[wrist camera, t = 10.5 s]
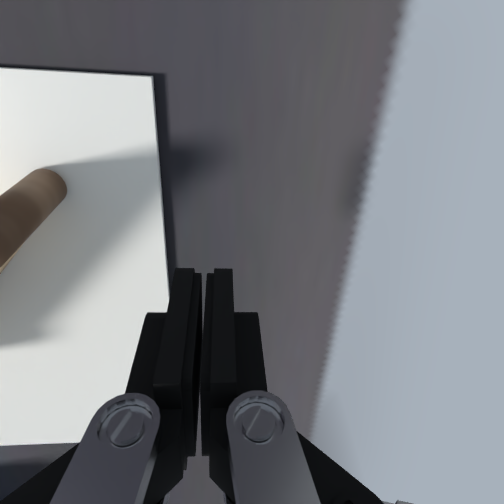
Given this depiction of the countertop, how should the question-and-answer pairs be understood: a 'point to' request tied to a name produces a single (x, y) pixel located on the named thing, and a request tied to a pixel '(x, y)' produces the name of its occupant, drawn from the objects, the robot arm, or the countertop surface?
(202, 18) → the countertop surface
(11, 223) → the fence panel
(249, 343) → the robot arm
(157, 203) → the card
